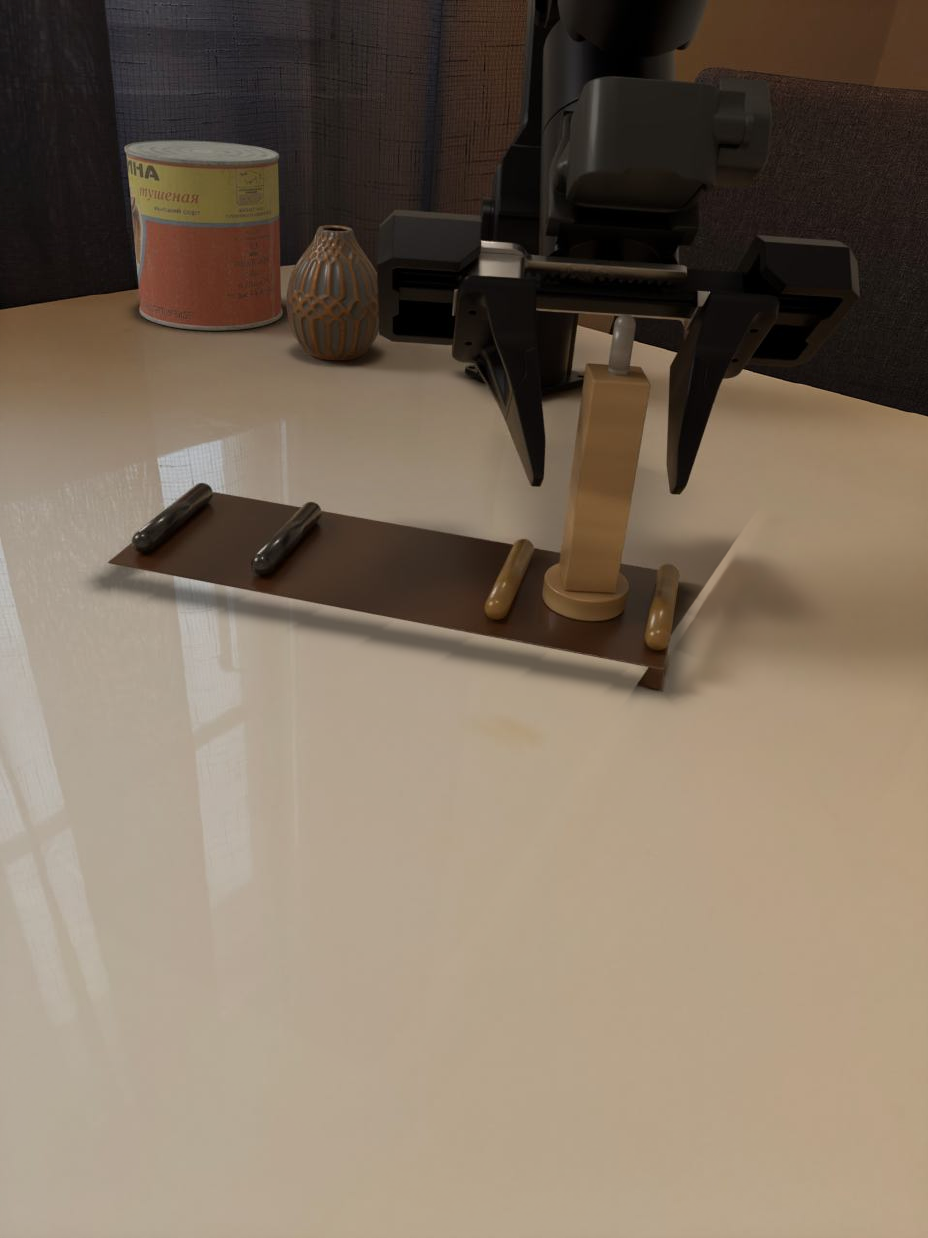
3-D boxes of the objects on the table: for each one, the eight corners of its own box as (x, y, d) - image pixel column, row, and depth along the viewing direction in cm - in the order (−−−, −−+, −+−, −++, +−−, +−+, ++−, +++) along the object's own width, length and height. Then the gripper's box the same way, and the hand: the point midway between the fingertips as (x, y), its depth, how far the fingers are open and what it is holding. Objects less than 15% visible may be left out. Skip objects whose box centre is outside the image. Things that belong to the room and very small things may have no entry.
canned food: (141, 293, 86) (127, 137, 80) (276, 294, 88) (272, 143, 82) (137, 330, 76) (121, 156, 70) (288, 330, 79) (285, 164, 73)
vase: (395, 348, 77) (400, 227, 73) (358, 372, 71) (360, 242, 67) (313, 334, 79) (312, 214, 74) (270, 357, 73) (266, 229, 69)
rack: (109, 582, 44) (104, 541, 43) (198, 506, 51) (196, 469, 50) (660, 690, 40) (669, 647, 39) (675, 591, 47) (683, 553, 46)
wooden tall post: (538, 577, 45) (573, 299, 39) (618, 582, 45) (665, 305, 39) (545, 619, 42) (584, 324, 36) (631, 624, 42) (684, 330, 36)
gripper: (386, -40, 35) (359, 374, 31) (915, 4, 36) (951, 410, 32) (389, 175, 46) (369, 501, 42) (795, 204, 47) (811, 526, 43)
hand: (608, 486), depth 39 cm, fingers open, 5 cm apart
